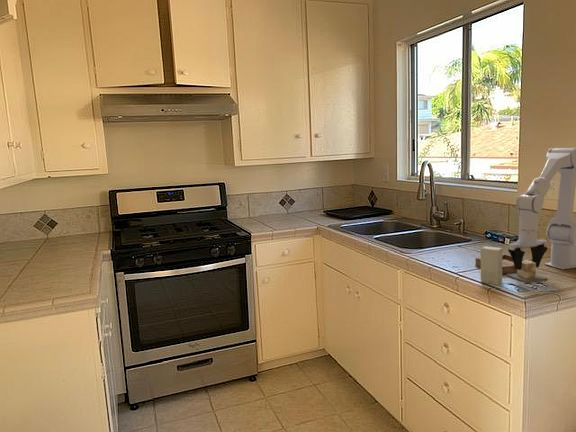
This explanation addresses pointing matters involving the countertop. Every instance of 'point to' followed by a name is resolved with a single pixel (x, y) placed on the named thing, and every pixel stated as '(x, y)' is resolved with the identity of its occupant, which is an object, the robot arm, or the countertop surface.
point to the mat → (527, 280)
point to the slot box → (503, 264)
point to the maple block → (527, 269)
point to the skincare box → (491, 265)
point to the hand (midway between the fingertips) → (526, 267)
